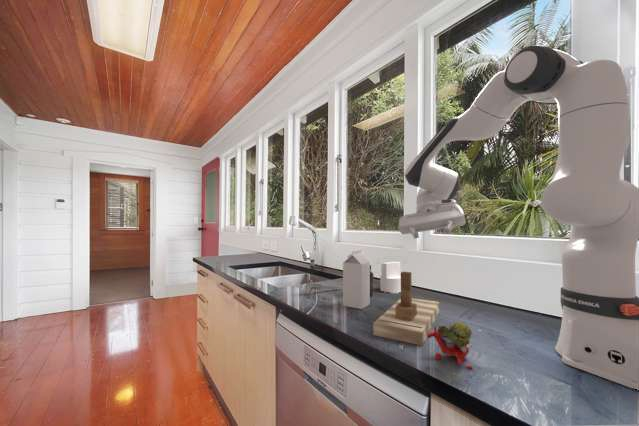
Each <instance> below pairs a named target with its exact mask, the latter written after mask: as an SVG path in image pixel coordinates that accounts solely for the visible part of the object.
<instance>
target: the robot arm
mask: <svg viewBox="0 0 639 426" xmlns="http://www.w3.org/2000/svg"><path fill="white" fill-rule="evenodd" d="M529 101H532V102H533V103H534V104H540V105H541V104H545V105H550V106H551V105H556V106H557V110H558V111H557V115H558V116H557V119H558V120H557V123H558V125H557V126H558V127H557V129H558V131H557V132H558V135H557V136H558V152H557V158H556V162H555V167H554V171H553V173H552V178H551V181H550V182H549V183H548V184H547V186H546V187H545V188H544V189H543V191H542V193H541V197H540V205H541V207H542V209H543V211H544V213H545V214H546V215H547V216H548V217H549V218H551V219H552V220H554V221H556V222H559V223H561V224H565V225H567V226H569V227H571V231H570V235H569V238H568V239H569V240H568V241H567V245H566V247H565V248H564V249H563V250H562V254H561V263H562V264H561V267H562V269H561V271H562V274H561V275H562V287H560V307H561V309H562V314H561V324H560V325H561V326H560V330H559V334H558V339H557V341H556V342H557V343H556V345H555V347H554V350H555V351H556V353H558V355H560V356H561V361H562V363H564V364H565V365H568V366H571V367H573V368H576V369H579V370H582V371H584V372H586V373H589V374H592V375H596V376H598V377H600V378H603V379H606V380H609V381H611V382H614V383H616V384H619V385H622V386H624V387H627V388H630V389H633V388H634V389H633V390H635V389H637V390H636V391H638V390H639V296H637V289H636V285H637V283H636V282H637V281H636V251H637V246H638V242H639V188H638V187H637V186H636V185H635V184H633V183H631V182H629V181H627V180H624V179H620V175H621V174H620V173H621V168H622V164H623V159H624V156H625V153H626V151H627V149H628V148H629V146H630V144H631V135H630V134H631V133H630V131H631V129H630V108H629V107H630V106H629V104H630V103H629V93H628V88H627V84H626V79H625V77H624V73H623V71H622V67H621V66H620V65H619V63H617V62H616V61H614V60H612V59H611V60H610V59H597V60H591V61H589V62H585V63H584V61H581V60H578V59H577V58H575V57H573V56H572V55H570V54H569V53H567V52H565V51H563V50H559V49H556V48H553V47H551V46H549V45H543V44H536V45H535V44H534V45H529V46H525V47H523V48H521V49H520V50H518V51H517V52H516V53H515V54H514V55H513V56H511V58H510V59H509V61H508V62H507V64H506V65H505V68H504V70H501V71H499V72H497V73H496V74H494V75H493V76H492V78H491V79H490V80H489V81H488V82H487V84H486V85H485V86H484V87H483V89H482V90H481V91H480V92H479V93H478V95H477V97H475V99H474V101H473V102H472V104H471V106H470V107H469V108H468V109H467V110H466V111H464V112H463V113H461V114H460V115H459V116H456V117H455V116H454V117H451V118H450V119H449V120H447V121H446V122H445V124H444V125H443V126H442V127H440V129H439V130H438V131H437V132H436V134H435V135H434V136H433V137H432V138H431V139H430V141H429V142H428V143H427V144H426V146H425V147H424V148H423V149H422V150H421V151H420V153H419V154H418V155H417V156H416V157H415V158H414V159H413V160H412V161H410V163H409V164H408V165H407V168H406V169H405V172H404V177H405V180H406V181H407V183H408V185H410V186H414V187H417V188H419V190H418V192H417V194H416V202H415V203H416V207H415V208H416V209H415V211H416V212H414V213H408V214H404V215H402V216H401V217H400V218H399V220H398V230H399V233H400V234H402V235H408V234H409V235H410V234H411V235H412V236H413V239H419V237H420V235H419V233H422V232H428V231H429V232H430V231H435V230H441V229H444V230H445V235H447V234H452V230H454V228H456V227H462V226H464V225H466V224H467V221H466V216H465V213H464V211H463V208H462V207H461V206H460V205H459V204H457V200H455V199H454V197H455V196H456V195H457V194H458V191H459V189H460V186H461V180H460V179H461V178H460V175H459V173H458V172H457V171H454V170H453V169H450V168H447V167H445V166H442V165H439V164H437V163H434V162H432V160H433V159H434V158H435V157H436V155H437V154H438V153H439V152H440V151H441V150H443V149H442V148H444V147H445V145H447V144H448V143H451V142H455V141H470V142H471V141H472V142H473V141H474V142H475V141H483V140H488V139H490V138H493V137H495V136H496V135H497V134H499V133H500V131H501V130H502V129H503V127H504V126H505V125H506V124H507V123H508V121H509V120H510V118H511V117H512V116H513V114H514V112H516V110H518V108H519V107H520V106H521V105H523V104H524V103H526V102H529Z"/></svg>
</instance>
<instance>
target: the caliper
mask: <svg viewBox="0 0 639 426" xmlns="http://www.w3.org/2000/svg"><path fill="white" fill-rule="evenodd" d="M307 280H308V282H306V283H305V284H306V285H305V291H304V292H305V295H306V296H312V295H313V293H314V291H315V290H316V291H321V290H322V289H325V290H337V291H343V285H330V284H322V283H319V282H313V280H312V279H307ZM309 294H310V295H309Z"/></svg>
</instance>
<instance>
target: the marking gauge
mask: <svg viewBox="0 0 639 426" xmlns="http://www.w3.org/2000/svg"><path fill="white" fill-rule="evenodd" d="M412 281H413V280H412V272H411V271H401V293H400V298H401V302H400V303H399V304H398V305H397V306H396V318H399V319H405V320H411V321H412V320H413V319H414V318H415V316H416V315H417V304H415V303H412V298H413V297H412V295H413V293H412V286H413V285H412Z"/></svg>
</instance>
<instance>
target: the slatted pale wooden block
mask: <svg viewBox="0 0 639 426" xmlns="http://www.w3.org/2000/svg"><path fill="white" fill-rule="evenodd" d="M400 302H401V297H400V298H399V299H398V300H397V301H396V302H395V303H394V304H393V305H391V307H390V308H388V309H387V310H386V311H385V312H384V313H383V314H382V315H380V316H379V317H378V318H377V319H376V320H375V321H373V323H372V327H373V328H372V331H373V332H372V335H373V336H376V337H380V338H384V339H385V338H386V339H391V340H395V341H400V342H403V343H409V344H414V345H418V346H419V345H420V346H423V345H424V344H425V341H426V339H427V338H428V337H427V334H429V333H430V331H431V329H432V327H433V325H434V323H435V321H436V319H437V316H438V315H439V313H440V302H439V301H435V300H434V301H433V300H427V299H419V298H413V297H412V303H415V304H417V315H416V316H415V318H414V319H413V320H412V321H411V320H405V319H399V318H396V306H397V305H398V304H399V303H400Z"/></svg>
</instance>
